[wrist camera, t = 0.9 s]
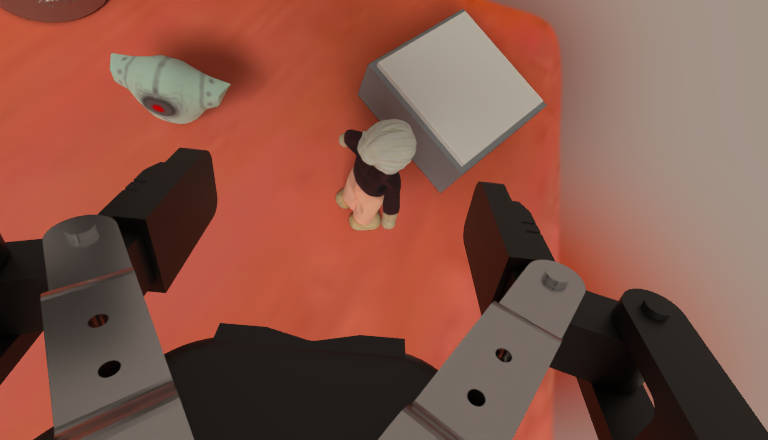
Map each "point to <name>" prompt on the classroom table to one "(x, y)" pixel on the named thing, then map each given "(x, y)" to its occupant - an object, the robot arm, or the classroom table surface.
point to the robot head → (168, 86)
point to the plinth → (450, 96)
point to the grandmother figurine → (376, 172)
